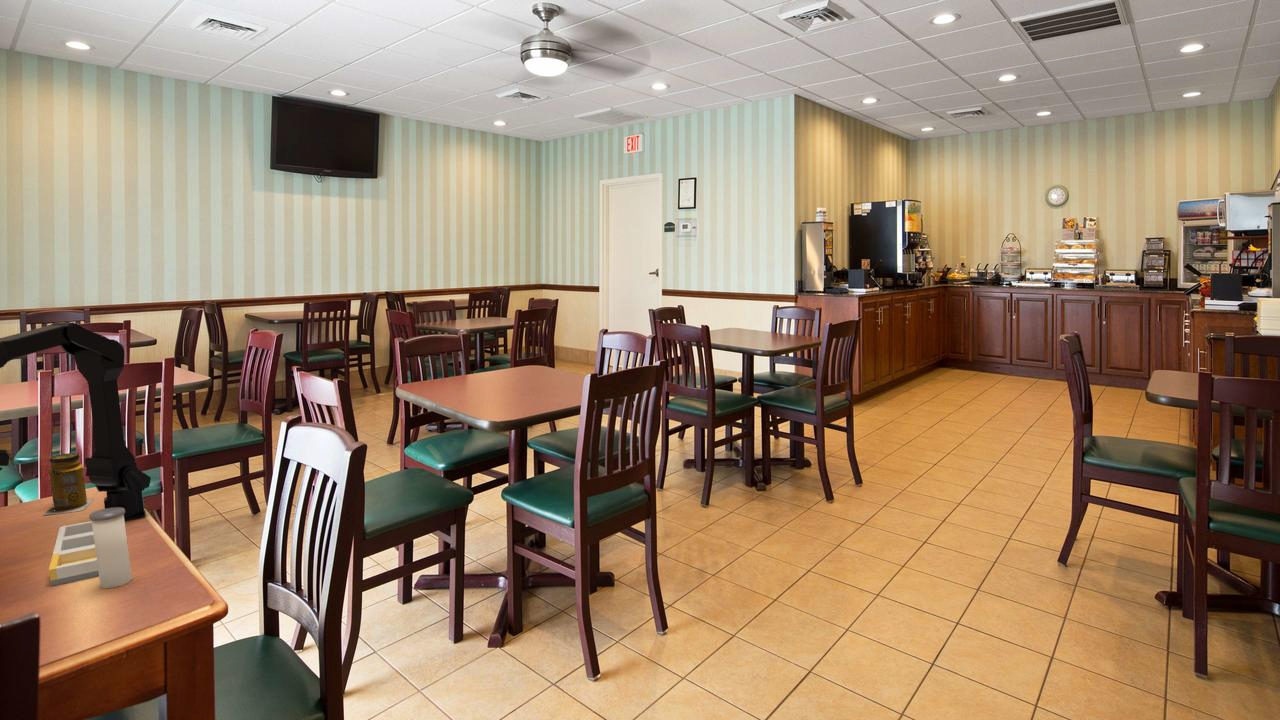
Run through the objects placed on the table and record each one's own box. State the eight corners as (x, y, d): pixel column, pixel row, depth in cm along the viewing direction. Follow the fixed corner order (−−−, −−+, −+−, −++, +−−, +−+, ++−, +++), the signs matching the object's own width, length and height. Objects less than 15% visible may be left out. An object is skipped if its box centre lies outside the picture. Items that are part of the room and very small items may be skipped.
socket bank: (110, 531, 147) (109, 517, 147) (107, 573, 128) (105, 558, 128) (61, 540, 143) (60, 526, 142) (50, 586, 123) (48, 570, 123)
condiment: (93, 499, 167) (86, 450, 165) (83, 510, 159) (76, 459, 157) (54, 504, 164) (47, 454, 162) (43, 516, 156) (35, 464, 154)
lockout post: (133, 573, 128) (124, 505, 126) (133, 583, 124) (124, 513, 122) (99, 580, 125) (89, 511, 123) (97, 591, 121) (88, 520, 119)
